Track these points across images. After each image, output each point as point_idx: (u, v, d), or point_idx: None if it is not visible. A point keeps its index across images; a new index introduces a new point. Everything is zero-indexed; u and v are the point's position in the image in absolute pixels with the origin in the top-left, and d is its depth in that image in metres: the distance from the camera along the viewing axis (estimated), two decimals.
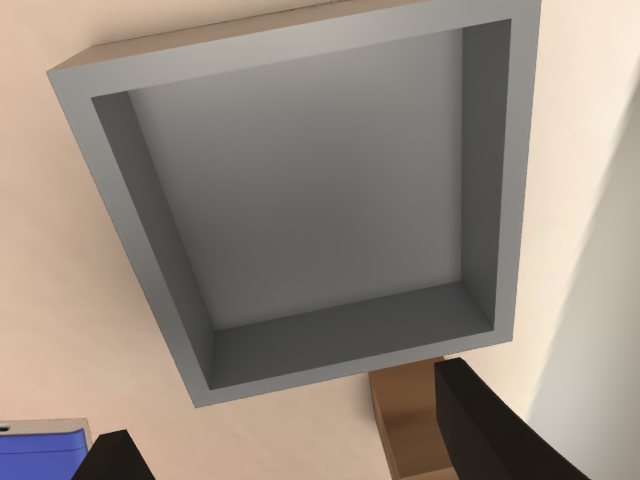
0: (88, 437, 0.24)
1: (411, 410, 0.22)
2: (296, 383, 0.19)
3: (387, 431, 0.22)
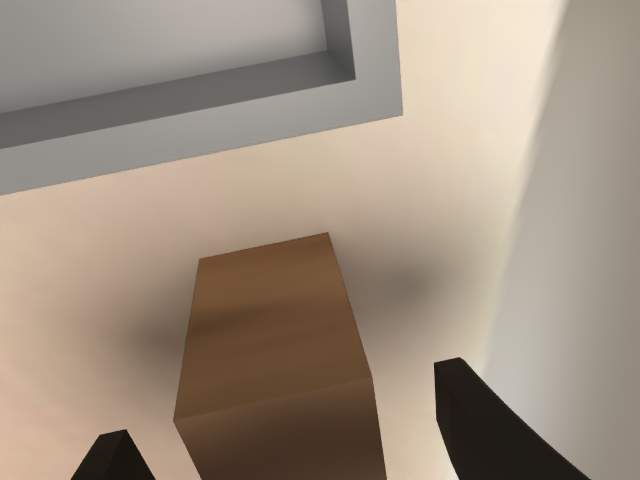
0: None
1: (245, 307, 0.12)
2: None
3: (187, 340, 0.11)
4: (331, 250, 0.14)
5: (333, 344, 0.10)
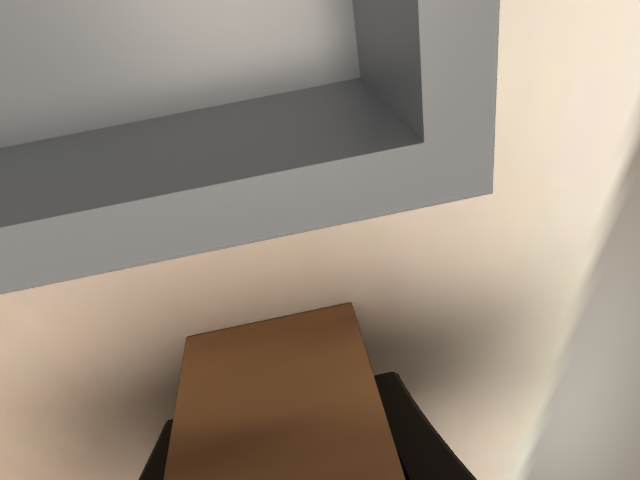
0: None
1: (246, 426, 0.09)
2: None
3: None
4: (358, 333, 0.10)
5: None
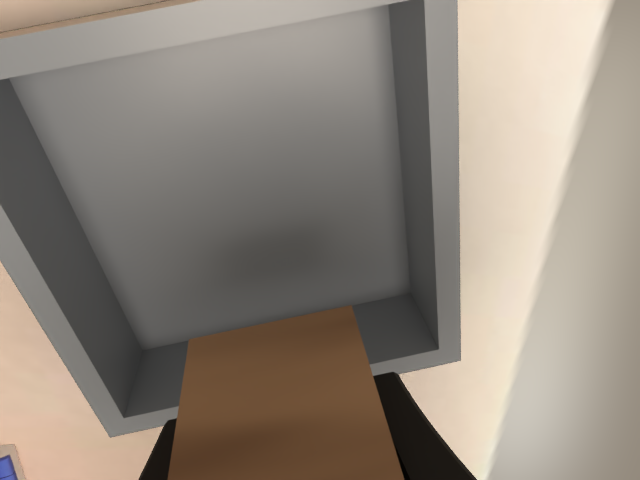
0: (17, 464, 0.22)
1: (248, 427, 0.09)
2: None
3: None
4: (358, 335, 0.11)
5: None
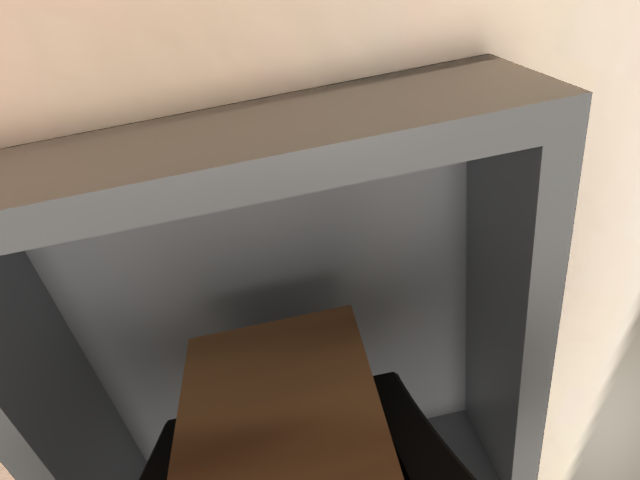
0: None
1: (247, 427, 0.09)
2: None
3: None
4: (357, 335, 0.11)
5: None
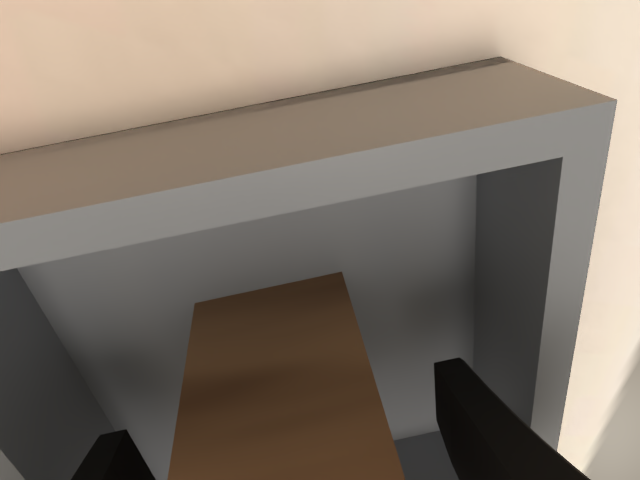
0: None
1: (248, 372, 0.10)
2: None
3: (179, 418, 0.09)
4: (347, 296, 0.12)
5: (355, 430, 0.08)
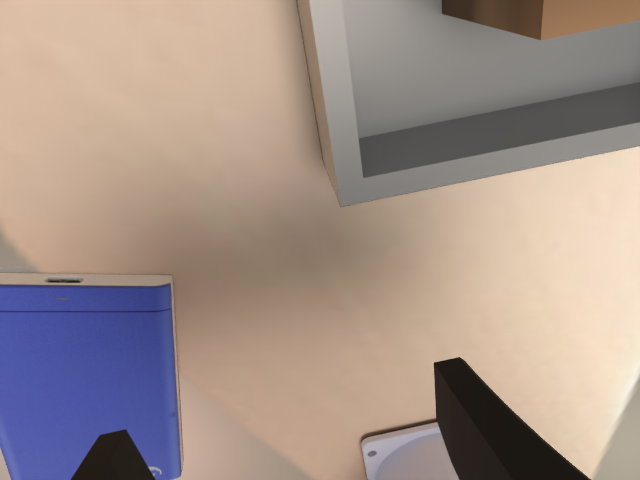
0: (172, 301, 0.20)
1: None
2: (470, 175, 0.14)
3: None
4: None
5: None
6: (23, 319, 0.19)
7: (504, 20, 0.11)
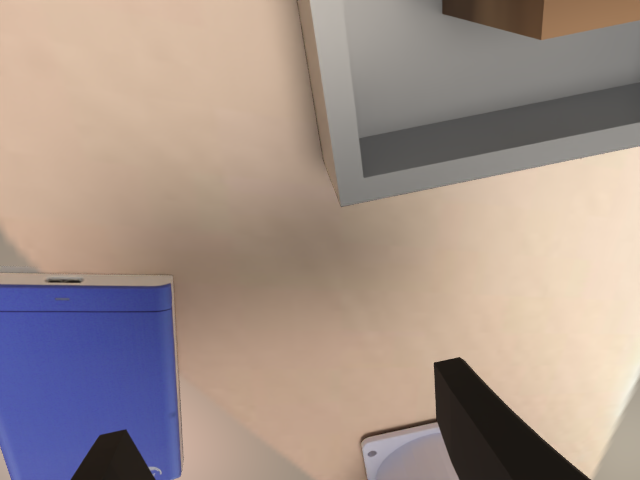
0: (173, 301, 0.20)
1: None
2: (471, 175, 0.15)
3: None
4: None
5: None
6: (24, 319, 0.19)
7: (504, 20, 0.11)
